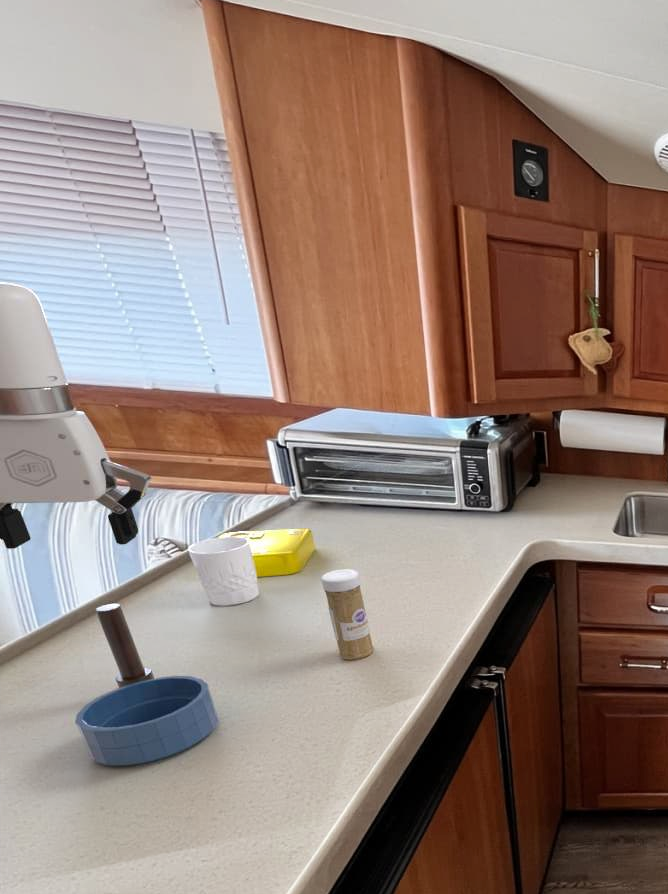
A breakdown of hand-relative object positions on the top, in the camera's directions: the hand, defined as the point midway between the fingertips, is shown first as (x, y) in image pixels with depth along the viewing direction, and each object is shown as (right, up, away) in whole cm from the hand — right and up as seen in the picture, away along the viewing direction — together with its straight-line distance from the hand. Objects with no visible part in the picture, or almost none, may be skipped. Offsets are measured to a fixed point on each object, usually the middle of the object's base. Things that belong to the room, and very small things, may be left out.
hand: (74, 542), depth 78 cm
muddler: (0, -20, +8) cm, 21 cm away
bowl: (+10, -24, 0) cm, 26 cm away
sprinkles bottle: (+20, -17, +21) cm, 33 cm away
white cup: (-10, -9, +33) cm, 36 cm away
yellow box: (-17, -2, +47) cm, 50 cm away
